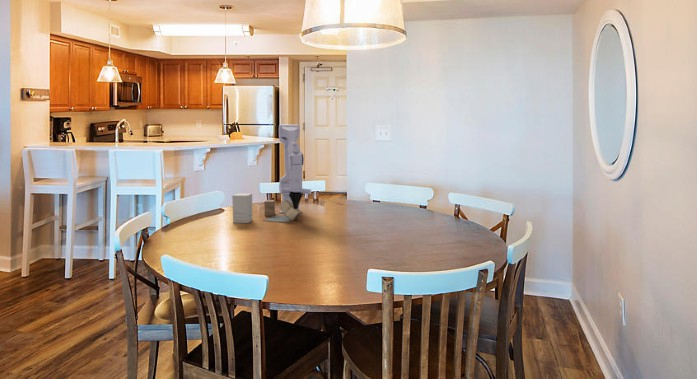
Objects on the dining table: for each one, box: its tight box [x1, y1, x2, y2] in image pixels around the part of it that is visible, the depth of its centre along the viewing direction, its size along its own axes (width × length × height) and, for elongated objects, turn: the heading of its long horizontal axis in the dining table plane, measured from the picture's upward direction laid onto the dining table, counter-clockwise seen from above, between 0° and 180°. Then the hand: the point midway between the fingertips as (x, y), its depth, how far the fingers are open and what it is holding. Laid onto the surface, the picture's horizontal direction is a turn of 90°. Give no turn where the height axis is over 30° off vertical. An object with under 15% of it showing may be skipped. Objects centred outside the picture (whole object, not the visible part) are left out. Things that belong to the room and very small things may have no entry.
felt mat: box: [262, 214, 292, 224], centre depth 234 cm, size 14×12×1 cm
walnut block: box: [264, 199, 276, 217], centre depth 243 cm, size 4×4×7 cm
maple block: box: [278, 200, 302, 222], centre depth 232 cm, size 4×4×9 cm
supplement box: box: [231, 192, 254, 224], centre depth 226 cm, size 7×7×13 cm
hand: (295, 208), depth 231 cm, fingers closed
